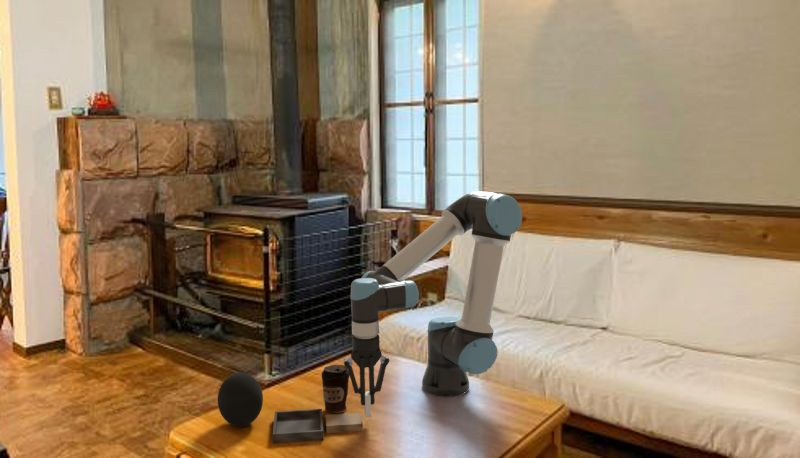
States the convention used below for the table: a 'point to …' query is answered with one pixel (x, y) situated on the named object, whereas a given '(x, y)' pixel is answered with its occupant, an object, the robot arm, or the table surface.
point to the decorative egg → (240, 399)
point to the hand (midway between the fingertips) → (367, 415)
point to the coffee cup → (335, 388)
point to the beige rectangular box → (344, 423)
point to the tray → (298, 426)
